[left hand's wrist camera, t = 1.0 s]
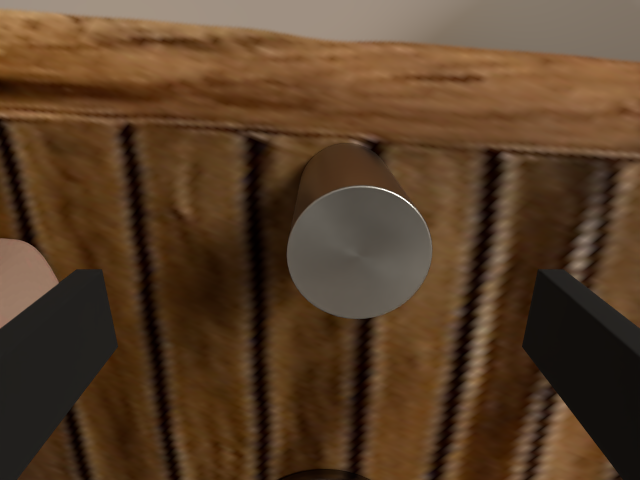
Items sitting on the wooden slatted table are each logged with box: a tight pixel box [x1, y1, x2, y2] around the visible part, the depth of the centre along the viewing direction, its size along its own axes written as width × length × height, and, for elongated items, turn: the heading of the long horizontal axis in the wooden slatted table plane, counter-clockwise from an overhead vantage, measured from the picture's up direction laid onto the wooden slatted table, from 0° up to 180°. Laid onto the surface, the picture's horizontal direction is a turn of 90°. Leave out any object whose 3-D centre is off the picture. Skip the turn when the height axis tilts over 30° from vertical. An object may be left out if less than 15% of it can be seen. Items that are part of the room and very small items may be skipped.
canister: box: [287, 143, 432, 319], centre depth 24 cm, size 7×7×12 cm
